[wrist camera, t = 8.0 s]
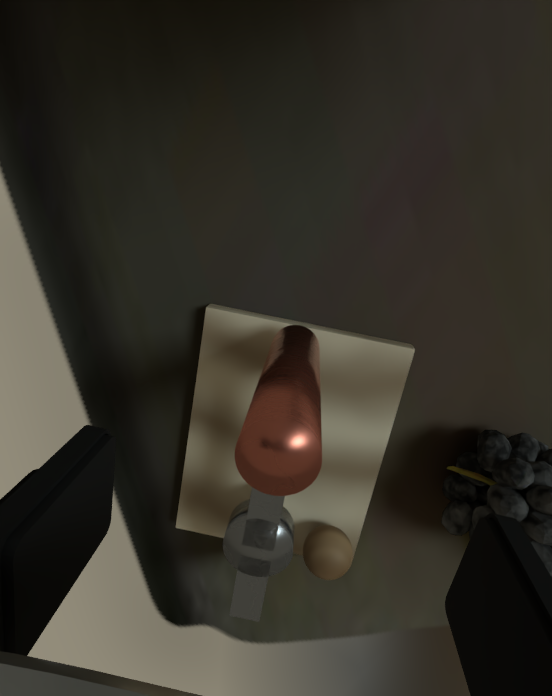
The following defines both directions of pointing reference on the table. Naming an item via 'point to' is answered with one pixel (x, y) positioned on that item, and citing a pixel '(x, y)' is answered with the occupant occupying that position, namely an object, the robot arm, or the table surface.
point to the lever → (274, 464)
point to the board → (336, 422)
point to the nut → (327, 552)
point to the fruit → (503, 488)
